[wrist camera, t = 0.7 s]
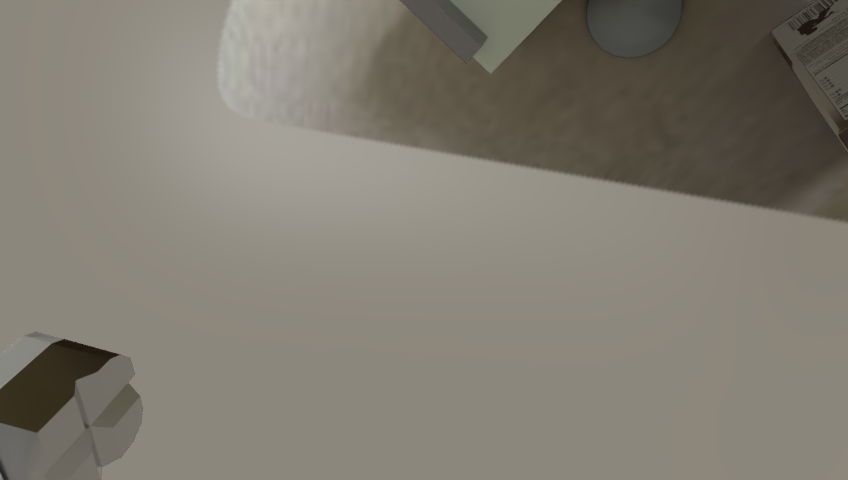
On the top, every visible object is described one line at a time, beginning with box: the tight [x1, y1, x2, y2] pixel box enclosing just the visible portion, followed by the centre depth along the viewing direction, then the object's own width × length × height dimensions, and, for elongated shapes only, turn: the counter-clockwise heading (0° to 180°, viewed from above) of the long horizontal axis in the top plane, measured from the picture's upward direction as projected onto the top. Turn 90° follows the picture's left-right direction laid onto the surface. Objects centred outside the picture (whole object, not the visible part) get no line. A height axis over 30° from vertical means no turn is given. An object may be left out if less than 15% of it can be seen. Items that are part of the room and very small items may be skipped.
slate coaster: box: [587, 0, 682, 58], centre depth 40 cm, size 6×6×1 cm
